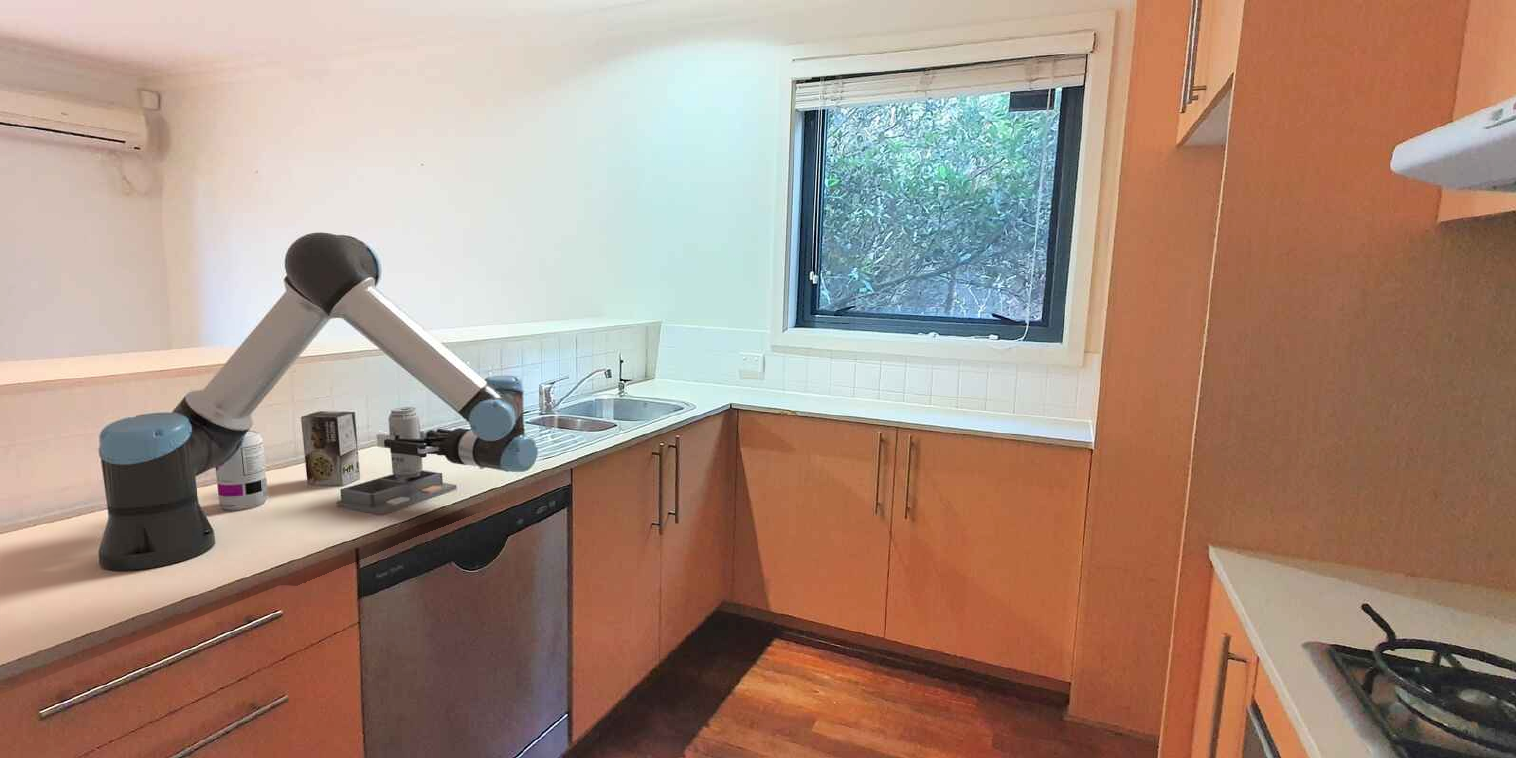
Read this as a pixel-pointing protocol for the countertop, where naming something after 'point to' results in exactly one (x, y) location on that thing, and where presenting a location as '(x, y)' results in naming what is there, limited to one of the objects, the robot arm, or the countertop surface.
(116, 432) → the robot arm
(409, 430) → the energy drink can
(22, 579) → the countertop surface
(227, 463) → the supplement can
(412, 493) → the tray
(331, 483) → the coffee box
